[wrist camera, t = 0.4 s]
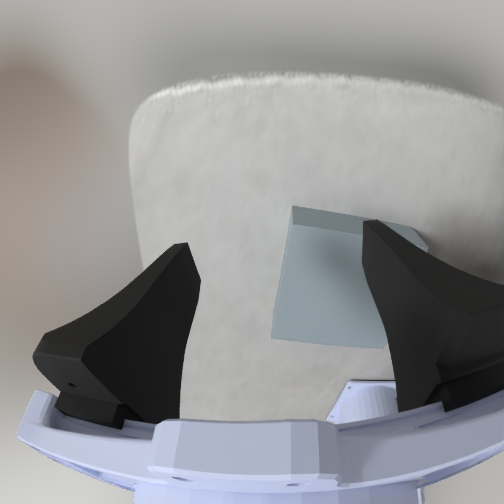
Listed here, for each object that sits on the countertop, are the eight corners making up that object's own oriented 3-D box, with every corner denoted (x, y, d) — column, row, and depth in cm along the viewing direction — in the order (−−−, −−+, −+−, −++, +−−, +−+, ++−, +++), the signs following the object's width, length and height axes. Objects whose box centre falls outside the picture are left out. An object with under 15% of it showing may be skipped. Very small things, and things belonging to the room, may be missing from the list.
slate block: (374, 319, 26) (383, 348, 22) (273, 308, 27) (271, 338, 23) (409, 225, 21) (428, 247, 18) (292, 204, 22) (293, 224, 18)
